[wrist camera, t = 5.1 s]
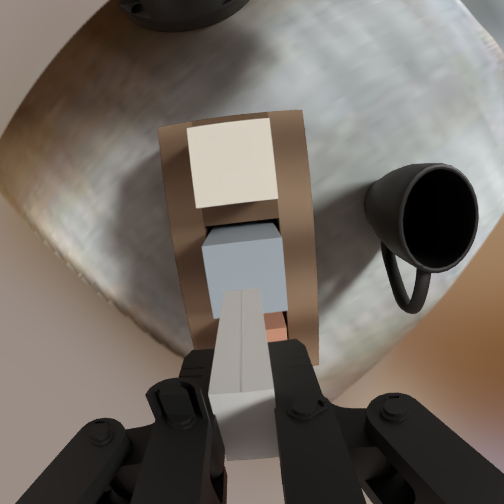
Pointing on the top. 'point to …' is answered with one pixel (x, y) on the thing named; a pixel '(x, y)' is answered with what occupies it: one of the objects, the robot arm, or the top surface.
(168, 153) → the brown wooden block
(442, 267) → the mug
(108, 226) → the top surface
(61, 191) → the top surface
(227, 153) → the ivory key
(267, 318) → the terracotta key
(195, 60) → the top surface
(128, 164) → the top surface
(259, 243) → the slate key
